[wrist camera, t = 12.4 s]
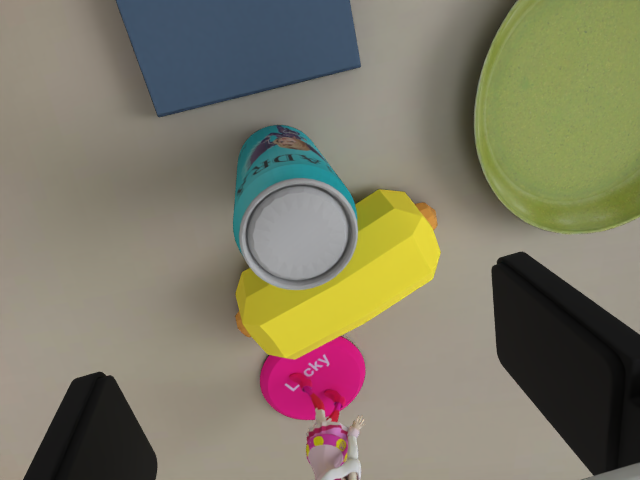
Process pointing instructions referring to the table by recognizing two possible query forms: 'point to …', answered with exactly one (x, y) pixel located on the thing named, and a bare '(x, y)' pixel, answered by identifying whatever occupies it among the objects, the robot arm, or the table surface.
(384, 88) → the table surface
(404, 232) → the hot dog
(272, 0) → the flat blue box
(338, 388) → the figurine
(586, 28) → the saucer
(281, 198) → the beverage can
